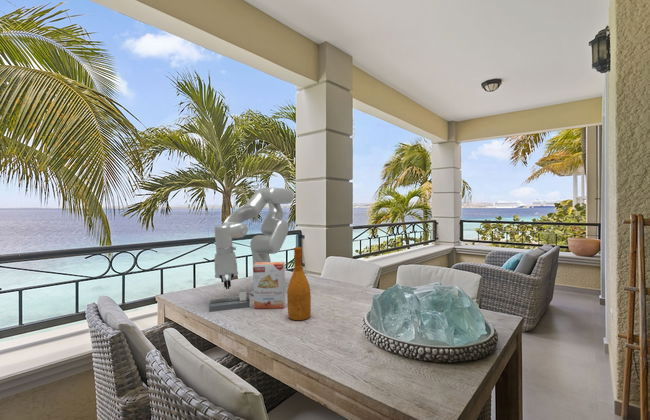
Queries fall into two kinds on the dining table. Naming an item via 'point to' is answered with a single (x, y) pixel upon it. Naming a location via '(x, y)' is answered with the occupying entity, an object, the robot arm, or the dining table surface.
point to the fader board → (229, 303)
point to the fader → (242, 294)
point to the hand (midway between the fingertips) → (227, 288)
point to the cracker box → (269, 284)
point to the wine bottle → (298, 291)
